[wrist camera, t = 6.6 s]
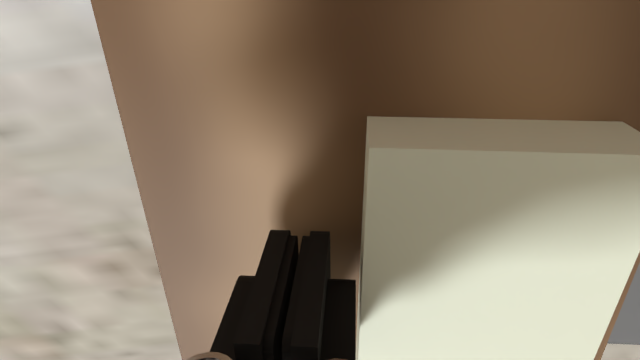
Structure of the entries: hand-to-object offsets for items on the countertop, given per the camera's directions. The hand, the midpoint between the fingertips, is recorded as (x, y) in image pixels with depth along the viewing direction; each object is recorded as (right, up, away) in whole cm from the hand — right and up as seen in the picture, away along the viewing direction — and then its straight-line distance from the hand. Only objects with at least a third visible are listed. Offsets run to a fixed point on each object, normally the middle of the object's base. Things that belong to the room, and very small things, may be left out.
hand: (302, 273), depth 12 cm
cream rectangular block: (+5, 0, 0) cm, 5 cm away
